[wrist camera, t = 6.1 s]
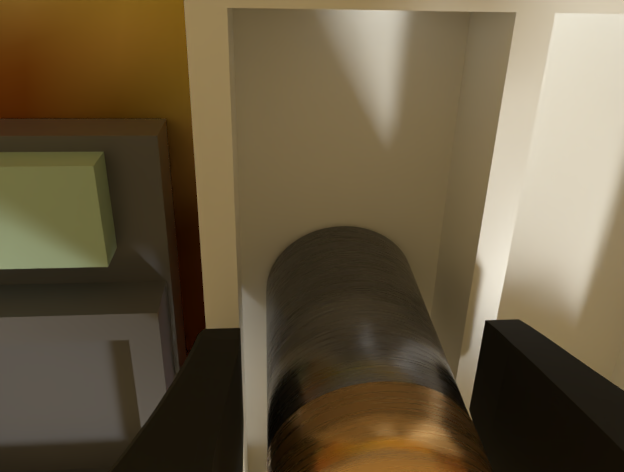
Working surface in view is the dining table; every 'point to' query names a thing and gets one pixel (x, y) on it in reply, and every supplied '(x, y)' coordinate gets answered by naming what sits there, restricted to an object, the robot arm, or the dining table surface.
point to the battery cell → (358, 364)
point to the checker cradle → (84, 289)
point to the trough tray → (416, 163)
